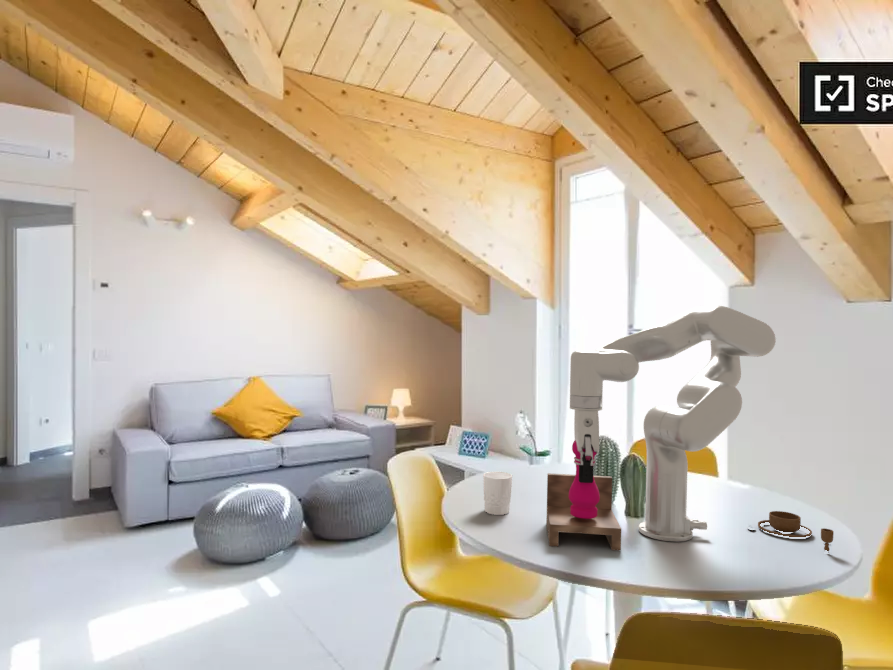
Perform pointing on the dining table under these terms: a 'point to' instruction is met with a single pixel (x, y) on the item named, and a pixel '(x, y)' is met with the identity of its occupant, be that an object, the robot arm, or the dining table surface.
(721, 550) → the dining table surface
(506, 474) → the white cup
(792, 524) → the place setting
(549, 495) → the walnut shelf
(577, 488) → the pepper mill
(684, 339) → the robot arm
